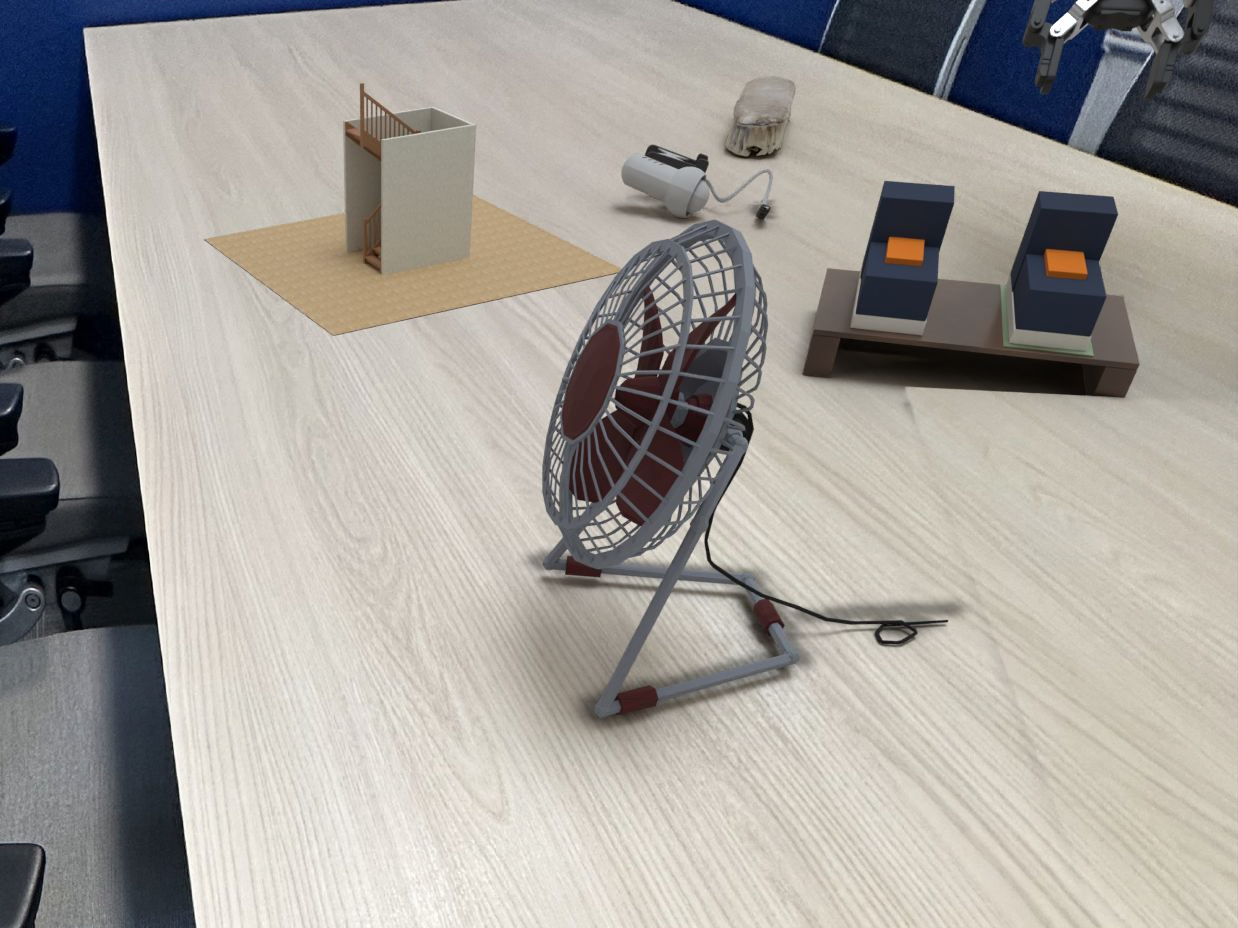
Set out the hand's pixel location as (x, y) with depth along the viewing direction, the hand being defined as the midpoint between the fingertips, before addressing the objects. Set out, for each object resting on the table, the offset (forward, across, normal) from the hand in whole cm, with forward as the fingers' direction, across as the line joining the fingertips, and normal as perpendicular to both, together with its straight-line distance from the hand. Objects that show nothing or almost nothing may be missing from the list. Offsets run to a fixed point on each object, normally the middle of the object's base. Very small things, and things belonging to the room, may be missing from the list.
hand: (1099, 91), depth 107 cm
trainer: (+21, 0, -1) cm, 21 cm away
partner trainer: (+21, -13, -1) cm, 25 cm away
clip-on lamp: (-2, -35, +27) cm, 44 cm away
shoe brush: (-26, -32, +51) cm, 66 cm away
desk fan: (+61, -19, -35) cm, 73 cm away
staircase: (+15, -63, +10) cm, 66 cm away
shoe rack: (+24, -6, +1) cm, 25 cm away
